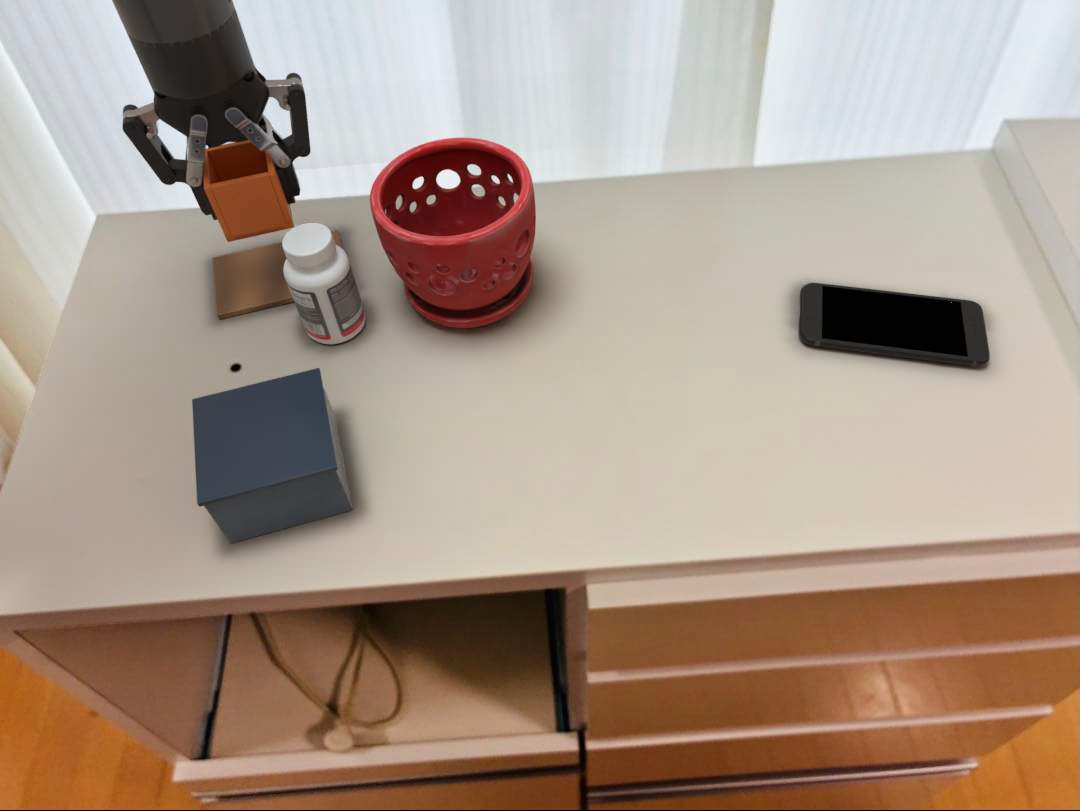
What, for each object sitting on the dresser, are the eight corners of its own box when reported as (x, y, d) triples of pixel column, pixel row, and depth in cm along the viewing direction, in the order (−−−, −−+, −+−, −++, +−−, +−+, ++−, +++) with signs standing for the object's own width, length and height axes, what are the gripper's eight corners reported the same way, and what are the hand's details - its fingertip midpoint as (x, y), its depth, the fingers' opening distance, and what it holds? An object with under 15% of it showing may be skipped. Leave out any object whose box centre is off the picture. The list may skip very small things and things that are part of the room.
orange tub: (227, 242, 69) (203, 188, 65) (223, 202, 73) (200, 149, 68) (294, 227, 70) (274, 173, 66) (287, 188, 74) (268, 135, 69)
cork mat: (219, 319, 74) (216, 315, 73) (214, 262, 79) (212, 257, 78) (351, 288, 76) (350, 283, 75) (339, 234, 80) (337, 229, 80)
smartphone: (799, 285, 73) (801, 277, 73) (979, 306, 71) (983, 298, 70) (796, 346, 69) (799, 339, 68) (988, 371, 66) (992, 364, 66)
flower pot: (414, 239, 79) (392, 130, 70) (549, 249, 78) (544, 138, 68) (378, 339, 72) (347, 231, 62) (527, 352, 70) (518, 243, 60)
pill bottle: (359, 295, 75) (333, 209, 67) (372, 336, 72) (347, 250, 64) (300, 312, 74) (267, 226, 66) (311, 353, 71) (278, 269, 63)
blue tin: (227, 547, 60) (197, 504, 55) (220, 446, 65) (191, 399, 60) (356, 511, 61) (337, 466, 56) (338, 415, 67) (319, 367, 62)
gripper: (68, 58, 54) (170, 253, 67) (287, 17, 56) (344, 214, 70) (73, 5, 59) (168, 198, 72) (276, -31, 61) (332, 163, 74)
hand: (254, 205), depth 71 cm, fingers closed on orange tub, 5 cm apart
